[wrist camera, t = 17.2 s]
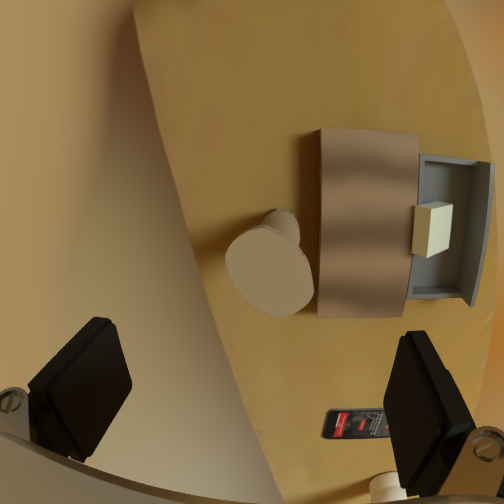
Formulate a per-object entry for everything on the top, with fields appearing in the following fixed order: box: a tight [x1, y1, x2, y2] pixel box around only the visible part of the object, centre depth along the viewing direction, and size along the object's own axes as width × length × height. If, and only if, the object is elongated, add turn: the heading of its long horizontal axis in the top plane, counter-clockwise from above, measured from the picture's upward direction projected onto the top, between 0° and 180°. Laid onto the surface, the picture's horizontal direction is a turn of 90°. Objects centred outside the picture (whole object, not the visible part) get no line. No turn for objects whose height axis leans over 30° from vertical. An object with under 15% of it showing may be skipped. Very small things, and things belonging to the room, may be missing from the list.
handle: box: [225, 208, 314, 317], centre depth 28 cm, size 5×6×15 cm
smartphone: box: [323, 408, 390, 439], centre depth 43 cm, size 7×1×15 cm
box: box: [406, 154, 495, 307], centre depth 30 cm, size 16×8×5 cm, turn 2°
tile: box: [412, 201, 453, 258], centre depth 30 cm, size 5×5×2 cm
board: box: [316, 128, 419, 318], centre depth 32 cm, size 20×10×3 cm, turn 2°
